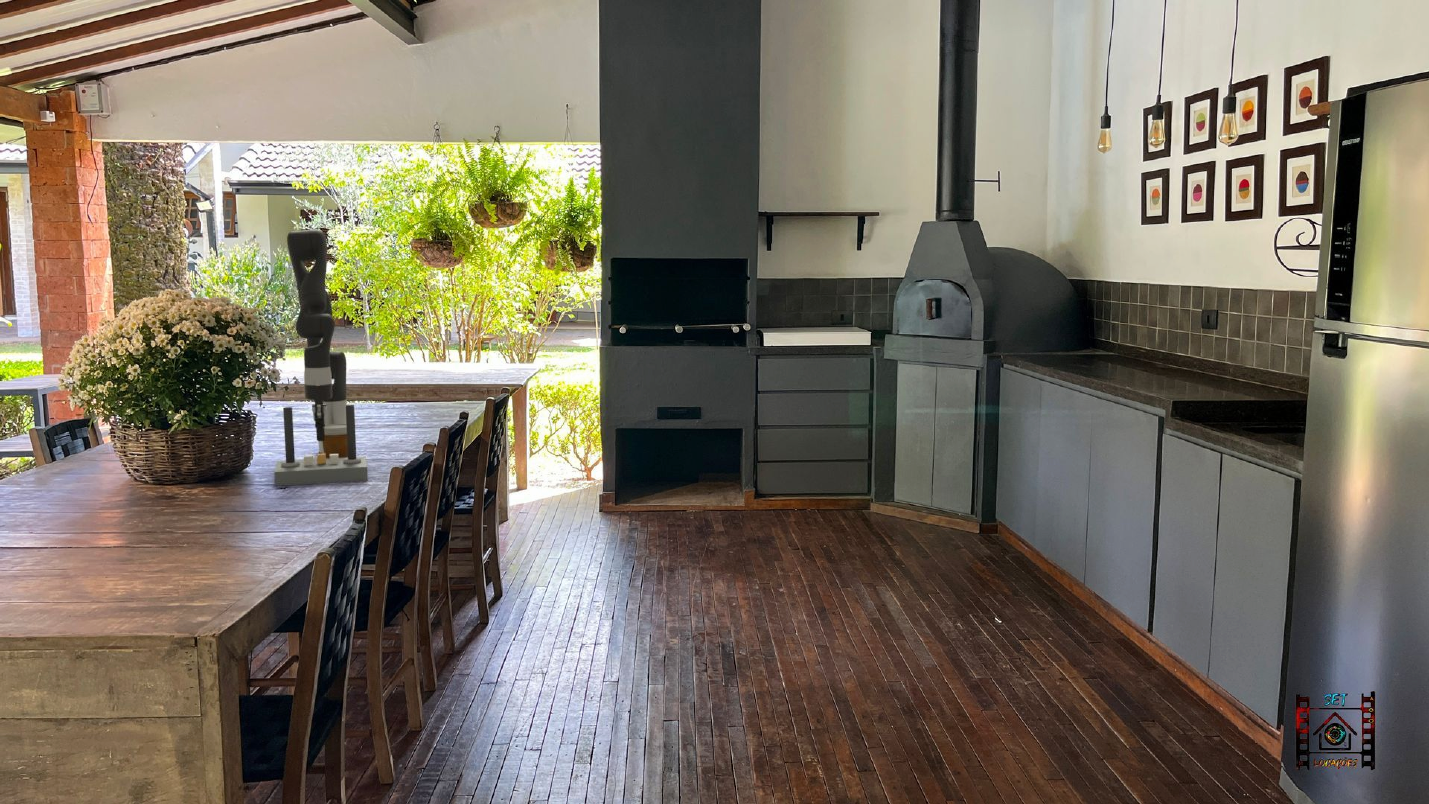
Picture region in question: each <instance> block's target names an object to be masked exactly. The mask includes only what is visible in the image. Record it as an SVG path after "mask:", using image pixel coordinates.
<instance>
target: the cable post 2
mask: <svg viewBox="0 0 1429 804" xmlns="http://www.w3.org/2000/svg"><path fill="white" fill-rule="evenodd" d="M355 412H356V411H355V405H354V404H347V405H346V426H347V450H348V458H345V459H343V463H345V464H357V463H360V462H361V458H359V457H360V456H357V439H356V438H357V437H356V417H355V414H356V413H355Z"/></svg>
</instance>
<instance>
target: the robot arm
mask: <svg viewBox="0 0 1429 804" xmlns="http://www.w3.org/2000/svg"><path fill="white" fill-rule="evenodd" d="M325 235H326V234H325V233H324V232H323V230H321V229H305V230H303V229H302V230H293V231H289V232H288V234H287V237H286V242H287V249H288V253H289V257H290V260H291V265H292V268H293V273H294V278H295V282H296V288H297V296H298V301H299V307H300V310H299V313H298V316H297V319H296V323H295V331H296V333H297V335H298V336H299V337H301V338H303V339H306V344H307V346H306V348H304V350H303V358H304V359H303V360H304V361H303V363H304V372H303V373H304V374H303V379H304V380H303V381H304V397H305V399H307V400H311V401H312V400H313V401H314V403H313V404H312V405H311V410H312V411H311V412H312V415H313V417H312V418H313V421H314V423H315V425H314V427H315V431H316V432H315V433H316V441H317V442H318V452H319V454H324V449H323V443H322V441H324V440H325V432H324V428H325V425H328V424H346V405H348V404H347V403H348V402H347V357H346V354H345V353H344V352H343V351H341V350H331V343H332V339H333V335H334V332H335V327H336V322H335V319H334V317H333V315H334V314H333V307H332V301H331V297H330V293H328V291H327V290H326V276H327V266H328V243H327V239H326V238H327V237H326V236H325ZM309 261H314V264H313V266H312V268H311V269H310V270H308V268H307V266H306V265H305V263H304V262H309ZM332 380H333V382H332Z"/></svg>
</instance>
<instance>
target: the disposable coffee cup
mask: <svg viewBox="0 0 1429 804" xmlns="http://www.w3.org/2000/svg"><path fill="white" fill-rule="evenodd" d="M324 432H325V440H324V441H322V443H323V449H324V453H323V454H325V453H326V459H327V458H330V454H338V457H339V458H346V457H348V450H347V426H346V424H328V425H325V428H324Z"/></svg>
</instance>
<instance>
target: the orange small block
mask: <svg viewBox="0 0 1429 804" xmlns="http://www.w3.org/2000/svg"><path fill="white" fill-rule="evenodd" d="M316 459H317V464H323V463H326V453H325V454H324V453H316Z"/></svg>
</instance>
